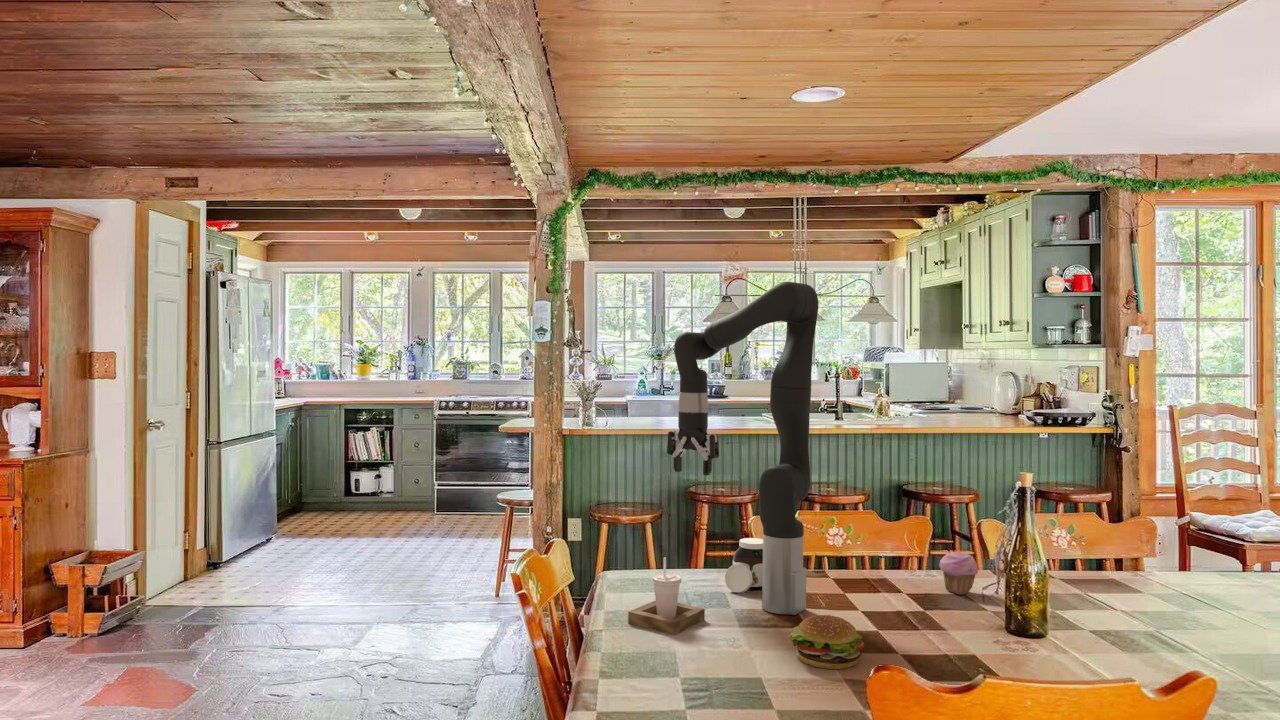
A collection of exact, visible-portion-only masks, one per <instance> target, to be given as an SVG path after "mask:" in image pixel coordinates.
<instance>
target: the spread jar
mask: <svg viewBox="0 0 1280 720" xmlns="http://www.w3.org/2000/svg"><path fill="white" fill-rule="evenodd" d="M738 542H739V543H738V544H739V547H738V548H737V549H736V550H735V552H734V554H733V557H732V565H731V566H729V567H728V568H727V570H726V571H725V574H724V582H725V585H726V587H727V588H728V589H729V590H730V591H732V592H734V593H738V594H741V593H745V592H747V591H754V592H755V591H762V572H763V538H759V537H744V538H741V539H739V541H738Z"/></svg>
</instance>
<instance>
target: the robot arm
mask: <svg viewBox="0 0 1280 720" xmlns="http://www.w3.org/2000/svg"><path fill="white" fill-rule="evenodd" d="M818 314H819V298H818V293H817V292H816V290H815V289H814V287H813V286H811V285H810V284H807V283H803V282H794V281H782V282H778V283H777V284H775V285H773V286H772V287H770V288H769V289H768V290H766V291H765V292H764V293H762V294H761V295H759V296H758V297H757V298H756V299H754V300H752V301H751V302H750V303H748V304H746V305H744V306H743V307H741V308H740V309H737V310H736V311H734V312H732V313H730V314H728V315H726V316H723V317H721V318H719V319H717V320H715V321H713V322H711V323H709V324H708V325H706V327H705V329H704V331H703V332H702V331H701V332H696V331H694V332H693V331H692V332H689V331H684V332H681V333H680V334H679V335H678V336H677V337H676V339H675V342H674V346H673V351H674V357H675V361H676V366H677V371H678V374H679V397H678V416H677V417H678V418H677V419H678V423H677V424H678V429H679V430H678V431H677V430H673V431H668V432H667V445H666V454H667V455H670V456H672V457H673V458H672V459H673V470H674V472H675V473H681V472H682V470H683V462H682V461H683V457H682V456H683V454H684V453H685V451H690V450H691V451H697V452H698V453H699V454H700V455H701V456H702V458H703V463H702V467H703V468H702V472H703V473H702V474H703V476H710V474H711V473H712V464H713V463H712V462H713V460H714V459H718V458H719V457H720V445H719V435H718V434H717V433H716V434H715V433H714V434H708V426H709V425H708V423H709V421H708V420H709V419H708V418H709V415H708V414H709V399H708V374H707V371H705V370H704V369H701V368H699V365H698V360H699V361H701V360H702V361H703V360H706V359H709V358H711V357H713V356H715V355H716V354H717V353H719V352H720V351H721V350H722V349H724V348H728V347H730V346H732V345H734V344H737V343H739V342H741V341H742V340H744V339H745V338H747V337H748V336H749V335H750V334H751V333H752V332H753V331H754V330H756V329H757V328H760V327H762V326H765V325H768V324H772V323H776V322H783V323H784V322H785V323H786V335H785V344H784V348H783V350H782V353H781V354H780V357H779V359H778V361H777V363H776V365H775V368H774V370H773V372H772V375H771V380H770V395H769V396H770V397H769V405H770V407H769V408H770V412H771V415H772V419H773V421H774V424H775V427H776V430H777V434H778V435H779V436H778V437H779V438H778V439H779V444H780V448H779V452H780V453H779V463H778V465H772V466H769V467H768V468H765V469H764V470H763V472H762V474H761V476H760V477H759V483H758V484H759V485H758V504H759V506H758V507H759V509H758V510H759V519H760V523H761V525H762V539H763V572H762V590H761V592H762V593H761V608H762V610H764V611H766V612H769V613H773V614H777V615H792V616H796V615H798V614H799V613H801V612H803V611H805V610H806V609H807V568H806V567H804V536H805V535H804V532H805V531H804V523H803V522H802V521H801V520H799V519H797V517H796V512H795V508H796V507H795V506H796V505H795V504H797V503H800V502H801V501H803V500H805V498H807V496H808V494H809V492H810V489H811V488H810V487H811V467H810V449H809V448H810V447H809V446H810V445H809V443H810V442H809V440H810V439H809V437H810V412H811V402H812V401H811V400H812V399H811V398H812V372H813V371H812V368H813V354H814V352H813V351H814V342H815V341H814V340H815V333H816V328H817V327H816V326H817V322H818ZM677 440H679V443H678V445H677ZM707 442H708V443H709V446H708V445H707Z"/></svg>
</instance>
